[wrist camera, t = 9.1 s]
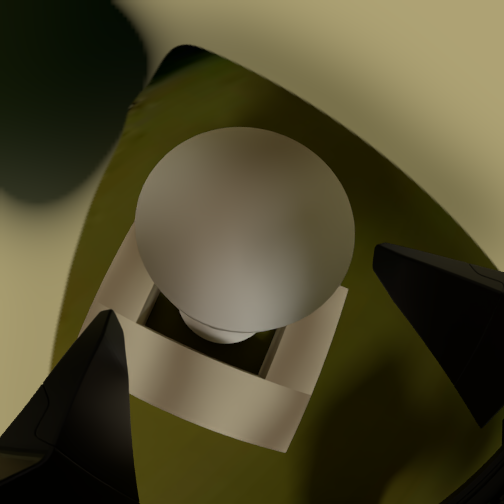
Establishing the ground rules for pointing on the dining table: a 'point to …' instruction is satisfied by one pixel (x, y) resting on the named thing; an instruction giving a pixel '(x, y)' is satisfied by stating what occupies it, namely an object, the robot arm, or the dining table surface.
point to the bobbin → (244, 231)
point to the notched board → (216, 362)
